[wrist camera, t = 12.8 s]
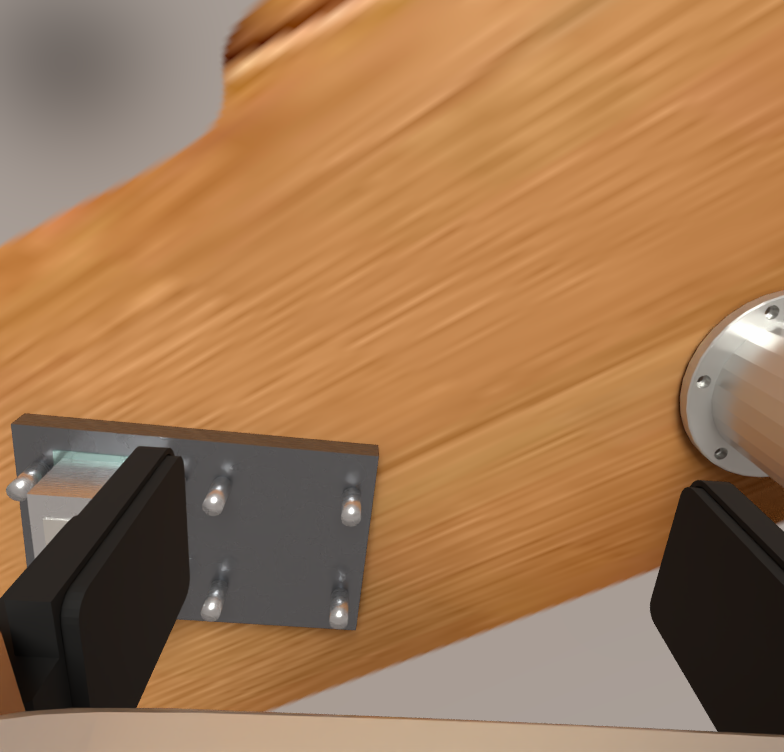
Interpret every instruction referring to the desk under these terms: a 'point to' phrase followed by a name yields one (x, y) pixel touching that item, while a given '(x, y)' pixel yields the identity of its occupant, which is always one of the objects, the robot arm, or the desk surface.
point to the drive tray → (239, 513)
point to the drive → (64, 496)
